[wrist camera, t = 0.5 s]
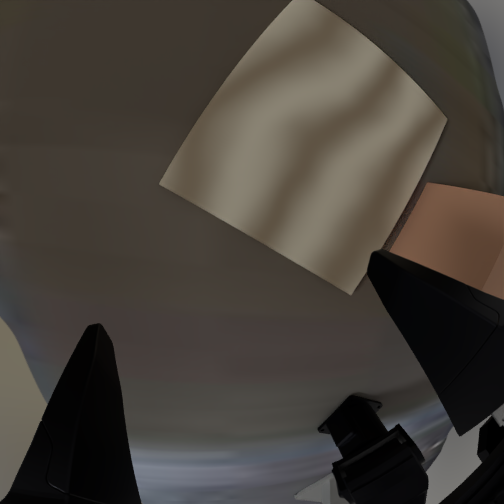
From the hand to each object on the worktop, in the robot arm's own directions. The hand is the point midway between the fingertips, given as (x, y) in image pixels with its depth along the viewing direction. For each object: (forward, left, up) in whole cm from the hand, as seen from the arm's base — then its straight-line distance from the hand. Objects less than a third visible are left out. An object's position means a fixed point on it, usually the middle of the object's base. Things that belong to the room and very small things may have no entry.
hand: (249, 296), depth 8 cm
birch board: (-4, -10, -13) cm, 17 cm away
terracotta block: (-17, -9, -13) cm, 24 cm away
